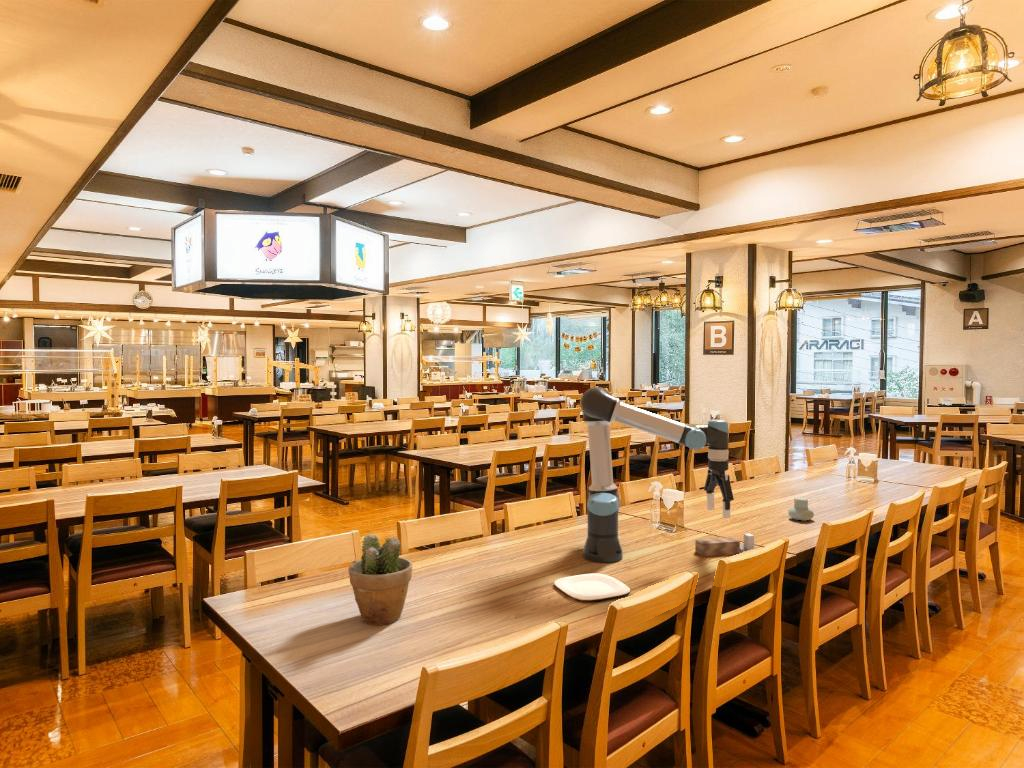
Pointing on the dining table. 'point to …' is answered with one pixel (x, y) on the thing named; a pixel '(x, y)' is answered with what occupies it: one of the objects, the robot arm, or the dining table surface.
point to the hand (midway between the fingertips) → (718, 513)
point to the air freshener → (801, 510)
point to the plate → (591, 587)
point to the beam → (717, 546)
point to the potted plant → (380, 581)
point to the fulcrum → (748, 542)
